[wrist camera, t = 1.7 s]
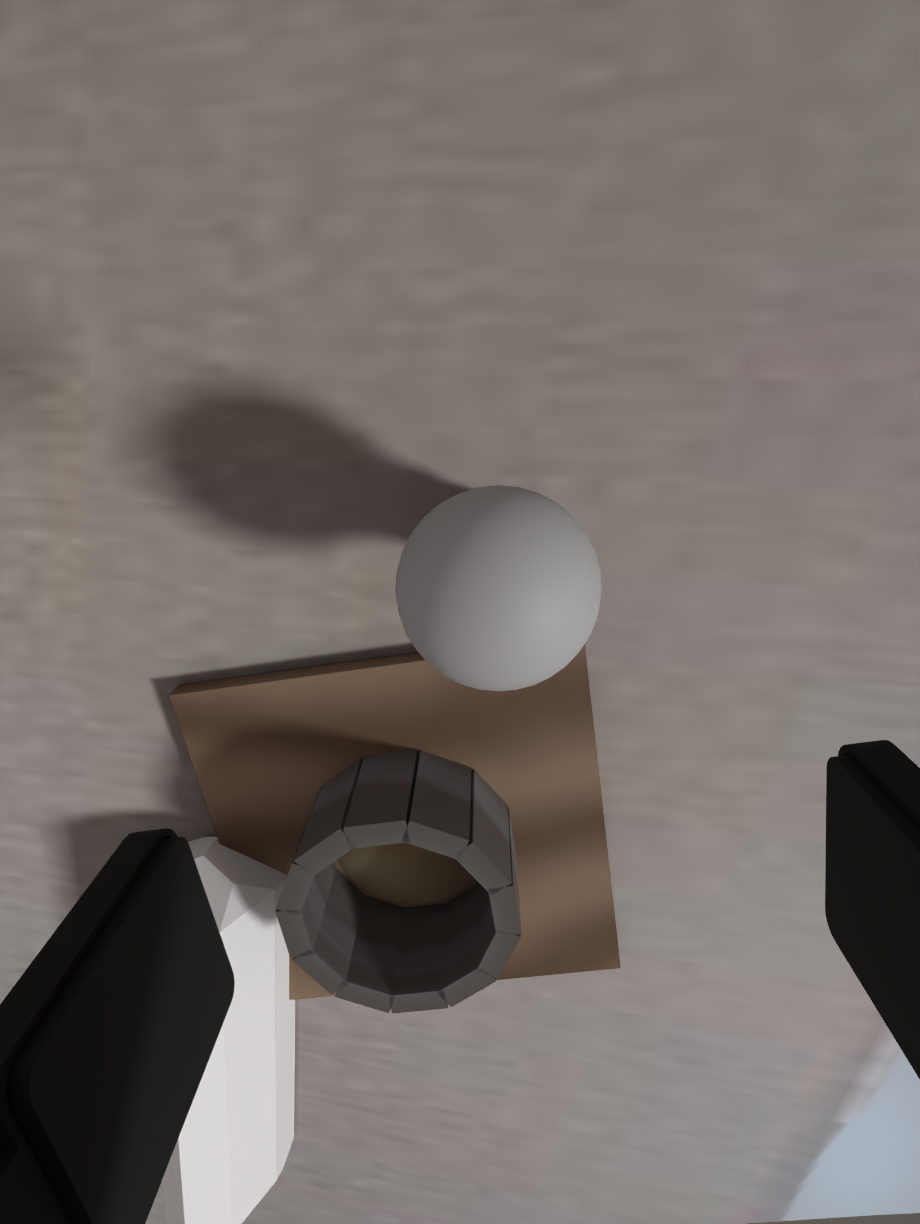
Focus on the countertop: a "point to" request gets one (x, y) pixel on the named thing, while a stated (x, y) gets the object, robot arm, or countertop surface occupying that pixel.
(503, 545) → the lightbulb
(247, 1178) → the crystal
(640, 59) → the countertop surface
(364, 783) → the socket
